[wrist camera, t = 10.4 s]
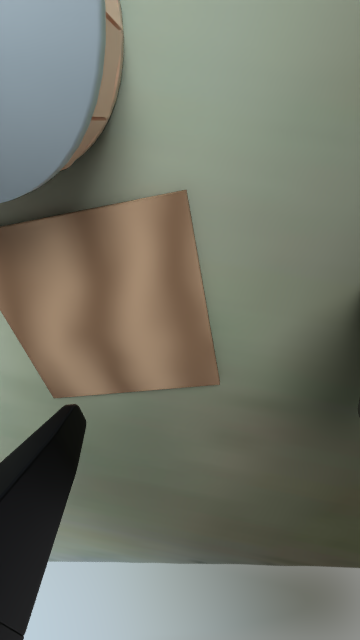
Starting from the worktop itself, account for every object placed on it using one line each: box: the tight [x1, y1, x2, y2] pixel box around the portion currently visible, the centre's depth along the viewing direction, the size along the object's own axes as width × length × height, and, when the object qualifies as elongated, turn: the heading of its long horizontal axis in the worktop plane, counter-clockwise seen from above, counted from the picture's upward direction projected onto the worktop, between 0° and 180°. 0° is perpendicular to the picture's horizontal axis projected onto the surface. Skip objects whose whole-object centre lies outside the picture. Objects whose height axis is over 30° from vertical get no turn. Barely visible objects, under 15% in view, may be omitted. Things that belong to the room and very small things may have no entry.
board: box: [0, 190, 220, 398], centre depth 23 cm, size 16×16×1 cm
